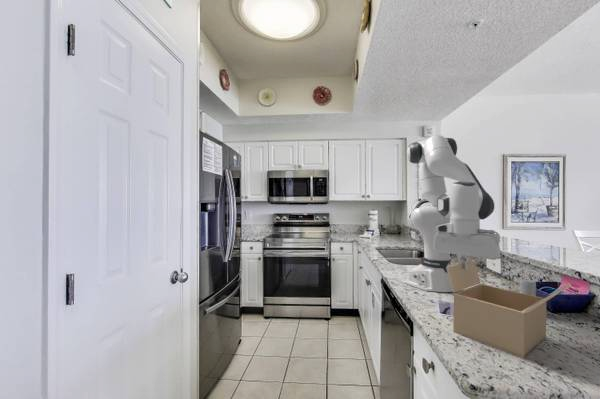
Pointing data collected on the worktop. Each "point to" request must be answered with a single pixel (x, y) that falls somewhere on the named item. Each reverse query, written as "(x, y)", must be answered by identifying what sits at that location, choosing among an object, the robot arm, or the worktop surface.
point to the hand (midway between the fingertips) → (464, 268)
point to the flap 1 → (462, 276)
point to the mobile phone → (446, 308)
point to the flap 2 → (548, 298)
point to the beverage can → (527, 287)
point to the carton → (500, 318)
